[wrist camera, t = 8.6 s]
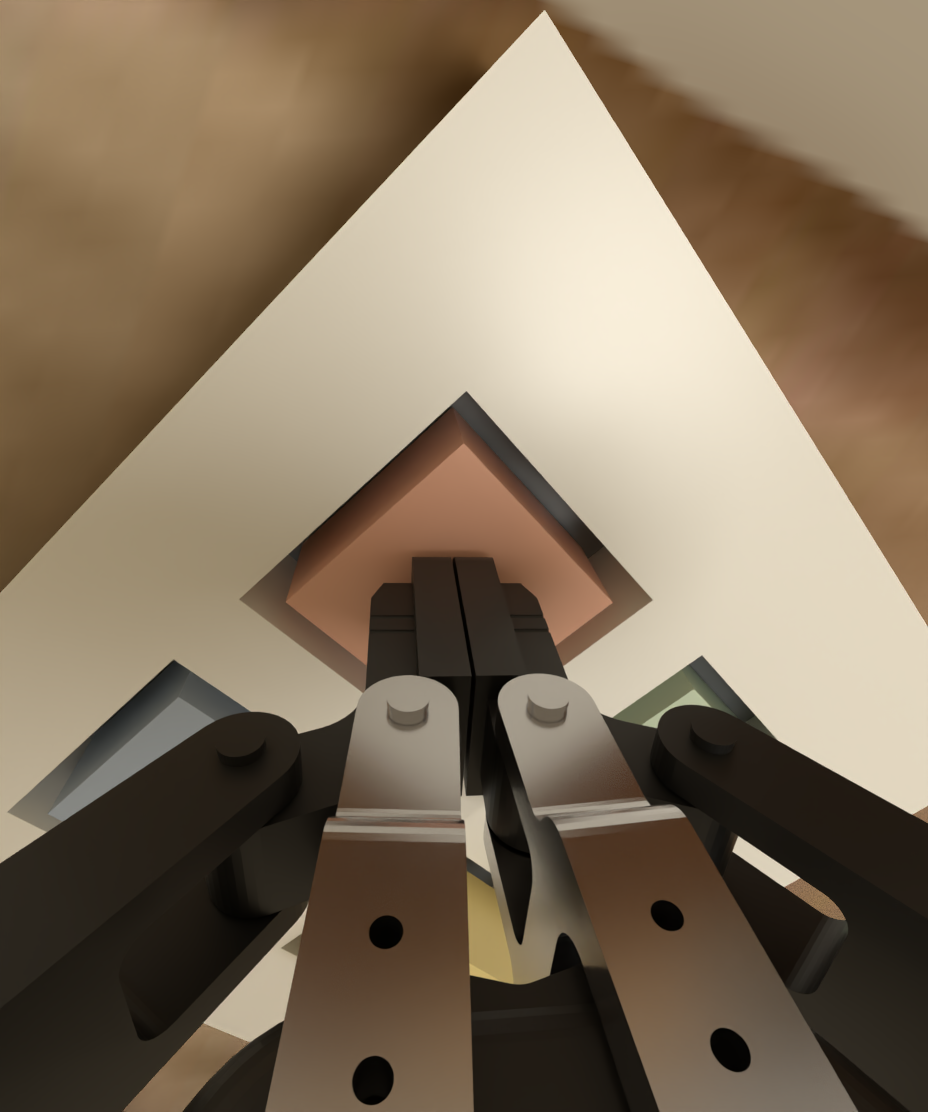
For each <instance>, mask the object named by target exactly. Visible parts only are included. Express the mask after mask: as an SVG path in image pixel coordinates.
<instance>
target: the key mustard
mask: <svg viewBox="0 0 928 1112" xmlns="http://www.w3.org/2000/svg"><path fill="white" fill-rule="evenodd" d="M467 896H468V931H469V966H470V975H472V976H477V977H482V978H486V979H491V980H496V981H501V982H506V983H510V984H514V982H513V971H512V964H511V959H510V954H509V949H508V945H507V941H506V936H505V932H504V928H503V924H502V919H501V915H500V911H499V906H498V902H497V898H496V893H495V889H494V888H492V887H491V886H489V885H487V884H486V883H484V882H483V881H481V880H480V879H478V878H477V877H475V876H474V875H472V874H471V873H469V872H468V871H467Z"/></svg>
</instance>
